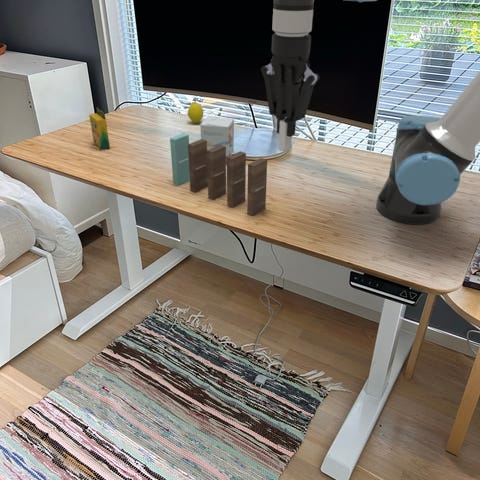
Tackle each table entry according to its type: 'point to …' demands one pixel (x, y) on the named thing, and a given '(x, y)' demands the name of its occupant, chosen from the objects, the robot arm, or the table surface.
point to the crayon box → (99, 130)
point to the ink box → (218, 133)
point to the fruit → (195, 112)
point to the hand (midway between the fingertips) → (284, 149)
